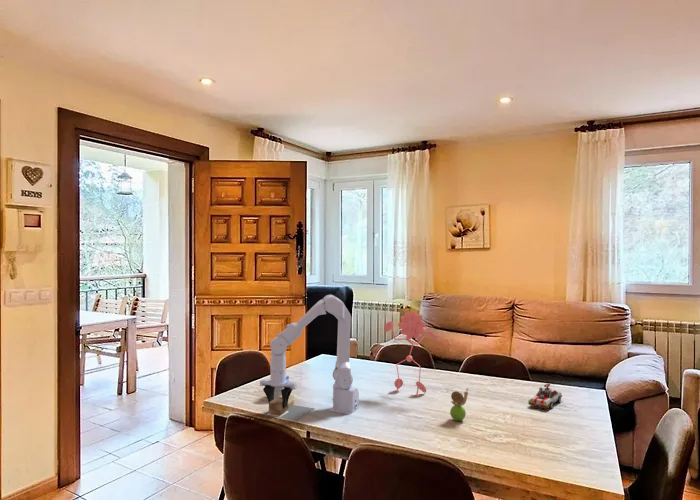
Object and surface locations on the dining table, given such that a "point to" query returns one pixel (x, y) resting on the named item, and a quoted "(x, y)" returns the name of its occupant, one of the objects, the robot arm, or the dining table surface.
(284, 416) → the mat
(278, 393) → the medicine box
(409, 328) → the figurine
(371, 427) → the dining table surface
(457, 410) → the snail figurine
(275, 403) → the walnut brick
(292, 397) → the beech brick
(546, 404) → the toy car
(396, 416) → the dining table surface
